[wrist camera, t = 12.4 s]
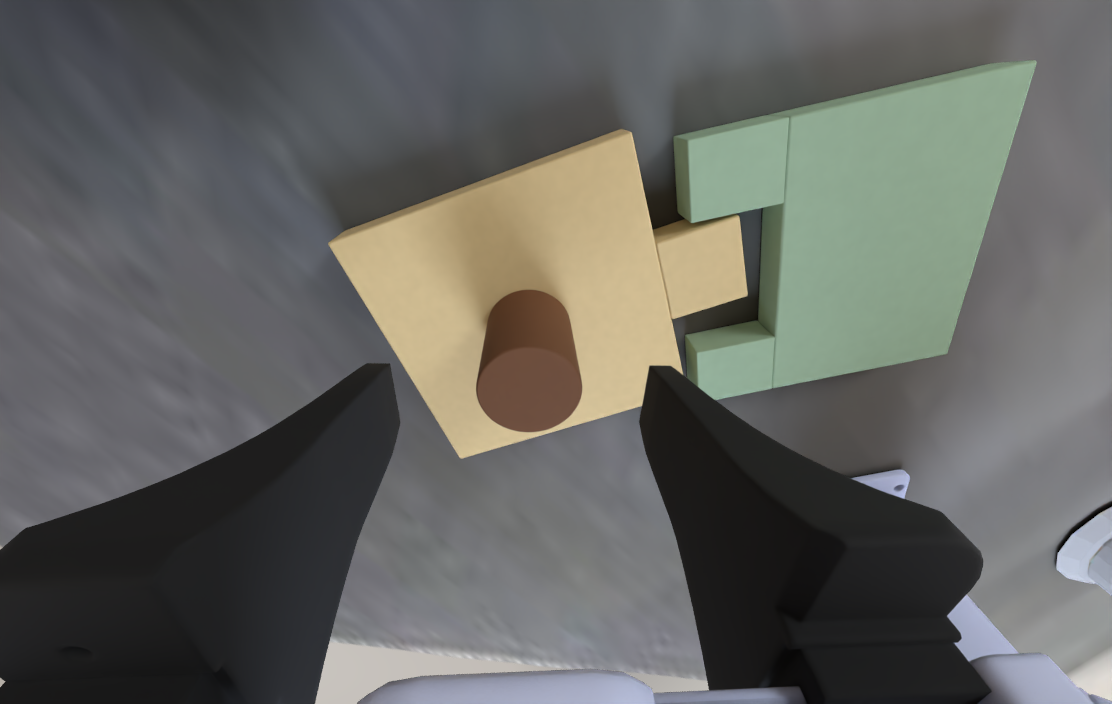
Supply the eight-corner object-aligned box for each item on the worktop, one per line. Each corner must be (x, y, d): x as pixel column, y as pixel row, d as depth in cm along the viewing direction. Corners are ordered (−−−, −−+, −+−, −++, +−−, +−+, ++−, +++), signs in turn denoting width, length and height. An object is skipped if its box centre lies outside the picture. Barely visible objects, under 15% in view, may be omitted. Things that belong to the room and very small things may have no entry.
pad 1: (740, 354, 18) (814, 442, 14) (464, 436, 20) (444, 541, 15) (708, 96, 13) (806, 94, 9) (343, 230, 15) (258, 292, 10)
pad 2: (918, 337, 19) (947, 354, 17) (687, 382, 19) (698, 403, 18) (990, 63, 13) (1039, 59, 12) (672, 136, 14) (687, 139, 13)
